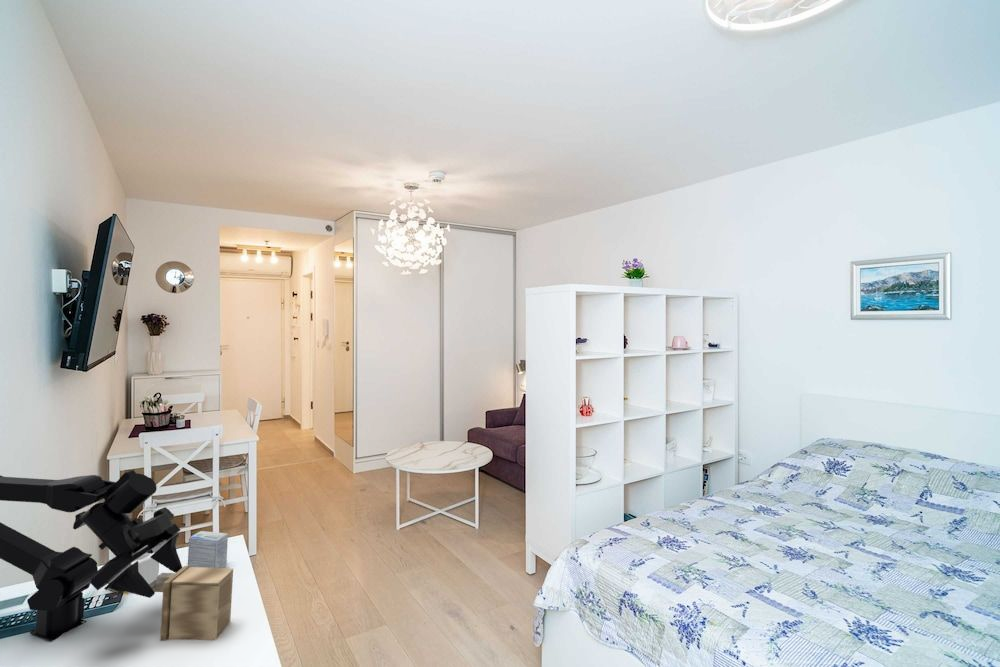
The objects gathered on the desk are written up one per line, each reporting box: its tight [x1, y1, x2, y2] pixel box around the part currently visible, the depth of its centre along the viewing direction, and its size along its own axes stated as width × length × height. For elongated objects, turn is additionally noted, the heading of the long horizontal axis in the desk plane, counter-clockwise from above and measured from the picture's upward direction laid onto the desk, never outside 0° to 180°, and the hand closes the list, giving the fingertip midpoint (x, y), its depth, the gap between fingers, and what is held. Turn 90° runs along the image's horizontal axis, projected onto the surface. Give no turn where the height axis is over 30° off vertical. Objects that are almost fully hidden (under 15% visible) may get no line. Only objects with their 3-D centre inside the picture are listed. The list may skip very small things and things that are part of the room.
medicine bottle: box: [107, 553, 160, 595], centre depth 115 cm, size 7×7×12 cm
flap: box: [149, 565, 190, 641], centre depth 99 cm, size 5×7×11 cm
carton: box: [168, 567, 234, 641], centre depth 99 cm, size 9×6×12 cm, turn 93°
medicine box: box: [187, 530, 229, 568], centre depth 125 cm, size 8×4×9 cm, turn 84°
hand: (167, 583), depth 99 cm, fingers open, 9 cm apart
